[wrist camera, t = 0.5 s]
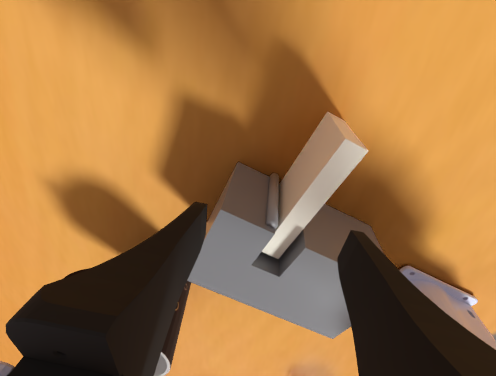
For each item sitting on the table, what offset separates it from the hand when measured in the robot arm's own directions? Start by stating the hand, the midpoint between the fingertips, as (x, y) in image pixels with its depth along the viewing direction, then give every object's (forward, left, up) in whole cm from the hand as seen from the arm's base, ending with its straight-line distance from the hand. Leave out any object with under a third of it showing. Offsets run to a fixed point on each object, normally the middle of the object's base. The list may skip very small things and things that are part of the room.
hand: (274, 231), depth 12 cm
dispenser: (-4, +6, -10) cm, 12 cm away
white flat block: (-2, 0, -10) cm, 10 cm away
